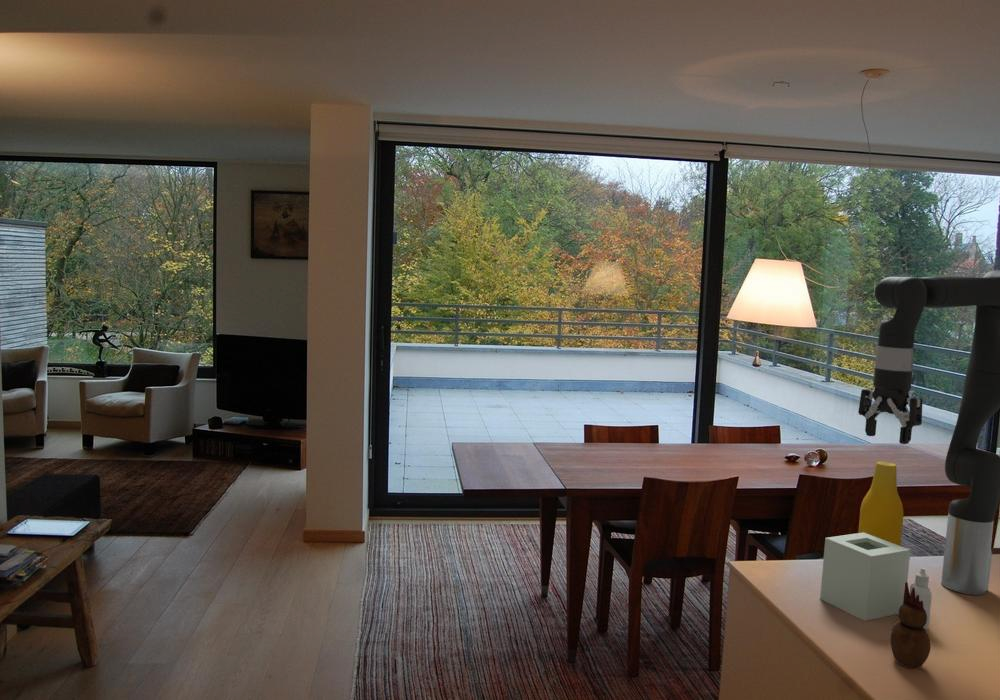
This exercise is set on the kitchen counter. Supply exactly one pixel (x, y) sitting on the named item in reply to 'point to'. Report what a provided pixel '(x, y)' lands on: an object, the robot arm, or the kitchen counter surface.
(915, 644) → the wooden figurine
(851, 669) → the kitchen counter surface
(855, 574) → the tissue box
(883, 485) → the beer bottle
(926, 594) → the eye dropper bottle
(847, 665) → the kitchen counter surface
